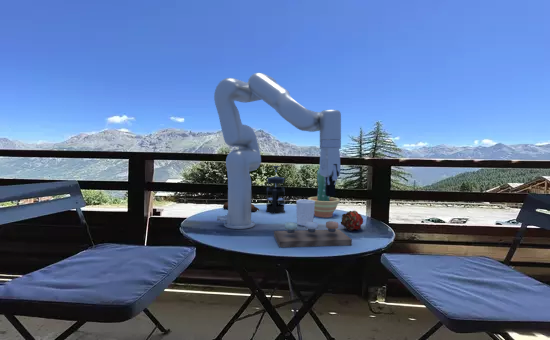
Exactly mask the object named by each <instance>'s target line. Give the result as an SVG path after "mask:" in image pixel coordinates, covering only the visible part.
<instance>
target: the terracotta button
mask: <svg viewBox="0 0 550 340" xmlns="http://www.w3.org/2000/svg"><path fill="white" fill-rule="evenodd" d="M325 228H327V230H328V231H329V232H335V231H336V230H337V229H338V228H339V222H337V221H334V220H333V221H330V220H329V221H325Z"/></svg>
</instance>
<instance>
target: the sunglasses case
mask: <svg viewBox="0 0 550 340" xmlns="http://www.w3.org/2000/svg"><path fill="white" fill-rule="evenodd" d="M223 208H228V201H226V202H224V203H223V206H222V209H223ZM257 210H258V211H260V210H259V208H258V207H257V206H255V204H253V203H251V212H254V213H255V212H256V213H257V212H258V211H257Z"/></svg>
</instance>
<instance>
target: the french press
mask: <svg viewBox="0 0 550 340" xmlns="http://www.w3.org/2000/svg"><path fill="white" fill-rule="evenodd" d="M271 168H274V170H275V171H277V170H278V168H281V166H278V165H273V166H271ZM266 179H267V183H268V184H275V186H268V187H266V200H267V202H270V203H266V210H265V212H266V213H269V214H283V213H285V203H279V202H284V201H285V198H284V197H283V198H282V197H279V193H280V192H283V194H285V187H283V186H277V185H278V184H283V183H285V182H284V181H285V177H280V176H273V177H267V178H266ZM268 192H270V193H272V195H271V197H268ZM271 202H272V203H271Z"/></svg>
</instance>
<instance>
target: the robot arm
mask: <svg viewBox="0 0 550 340" xmlns="http://www.w3.org/2000/svg"><path fill="white" fill-rule="evenodd" d="M213 94H214V96H213V99H214V100H213V101H214V106H215V108H216V111H217V115H218V118H219V119H218V120H219V125H220V128H221V132H222V136H223V141H224V142H225V144H226V145H227V146H229V147H234V148H235V147H238V149H234V150H231V151H230V152H229V153H228V154H227V156H226V159H225V166H226V172H227V173H226V174H227V188H228V189H227V202H228V209H227V213H226V214H224V215H217V216H216V221H217V222H218V221H219V222H223V225H224V227H225V228H228V229H235V230H246V229H251V228H253V227H255V224H256V223H255V221H253V220H252V211H251V204H252V179H251V174H250V172H252V171H256V170H257V169H259V168H260V165H261V163H262V156H261V151H260V147H259V143H258V139H257V135H256V132H255V131H254V129H253V128H252V127H251V126H249V125H248V124H247V125H246V124H243V121H242V119H241V115H240V114H241V113H240V111H239V109H238V107H237V105H236V103H235V102H240V103H253V102H257V101H263V102H265V103H266V104H267V105H269V106H270V107H271V108H272V109H274V110H275V112H276V113H277V114H278V115H279V116H280V117H281V118H283V119H284V121H286V122H288V123H289V124H290V125H292V126H293V127H294V128H296V129H298V130H300V131H303V132H309V133H313V132H319V150H320V153H319V154H320V155H319V168H320V170H319V173H320V175H321V176H324V178H325V184H327V185H325V195H326V196H330V197H335V196H336V185H337V180H338V179H337V177H339V176H341V155H340V153H341V152H340V150H341V149H342V114H341V113H342V112H341V111H340V110H338V109H325V110H321V111H320V112H318V111H313V110H311V109H307V108H306V107H304V106H303V105H302V104H300V103H299V102H298V101H296V100H295V99H294V98H293V97H292V96H291V93H290V91H289V90H288V89H286V88H284V87H283V86H282V85H280V84H279V83H278V82H277V80H276V79H275V78H274V77H272V76H270V75H267V74H265V73H263V72H255V73H252V74H251V75H250V77H249V78H248V81H243V80H240V79H237V78H233V77H226V78H223V79H222V80H221V81H219V82H218V84H217V86H216V87H215V89H214V93H213ZM330 175H331V176H330Z"/></svg>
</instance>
